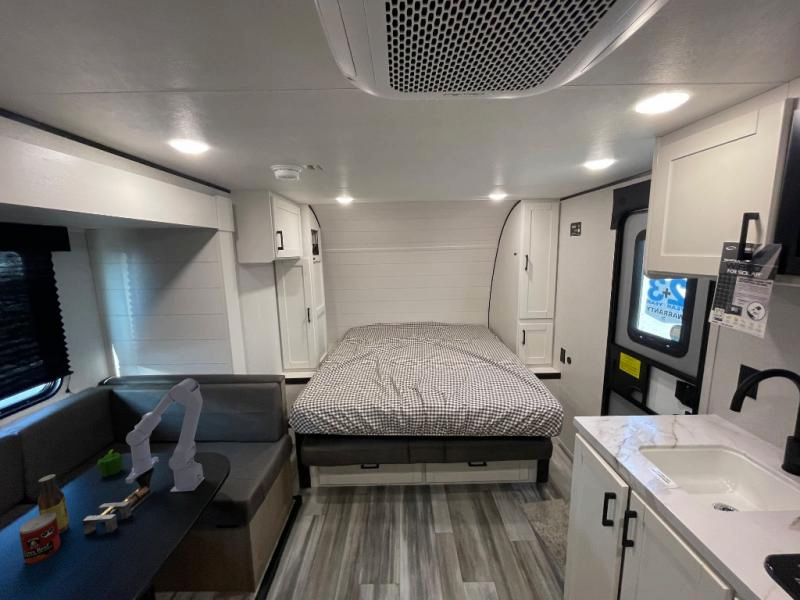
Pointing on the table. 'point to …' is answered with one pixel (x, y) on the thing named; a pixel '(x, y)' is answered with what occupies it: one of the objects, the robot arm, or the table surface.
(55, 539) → the canned food
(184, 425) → the robot arm
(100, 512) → the metal clamp tool
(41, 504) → the sauce bottle
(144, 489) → the tube
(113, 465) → the bell pepper
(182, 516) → the table surface
